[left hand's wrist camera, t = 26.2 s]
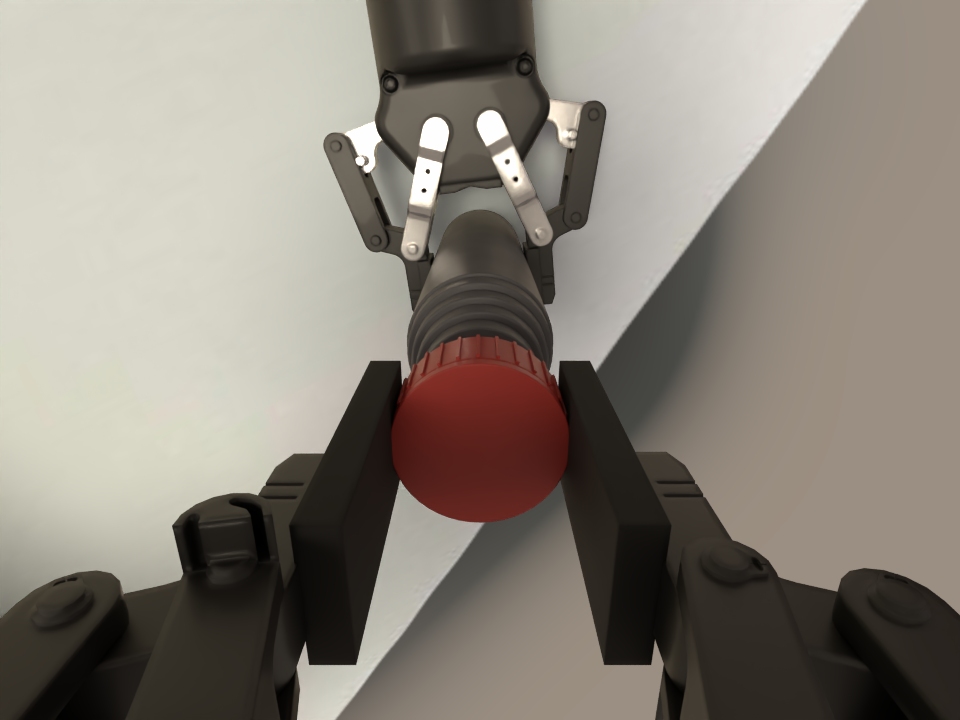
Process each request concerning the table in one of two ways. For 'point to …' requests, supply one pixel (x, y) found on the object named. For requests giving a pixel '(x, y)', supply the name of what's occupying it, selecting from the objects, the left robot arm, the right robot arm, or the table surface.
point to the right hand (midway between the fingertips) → (485, 316)
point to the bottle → (480, 291)
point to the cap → (480, 430)
